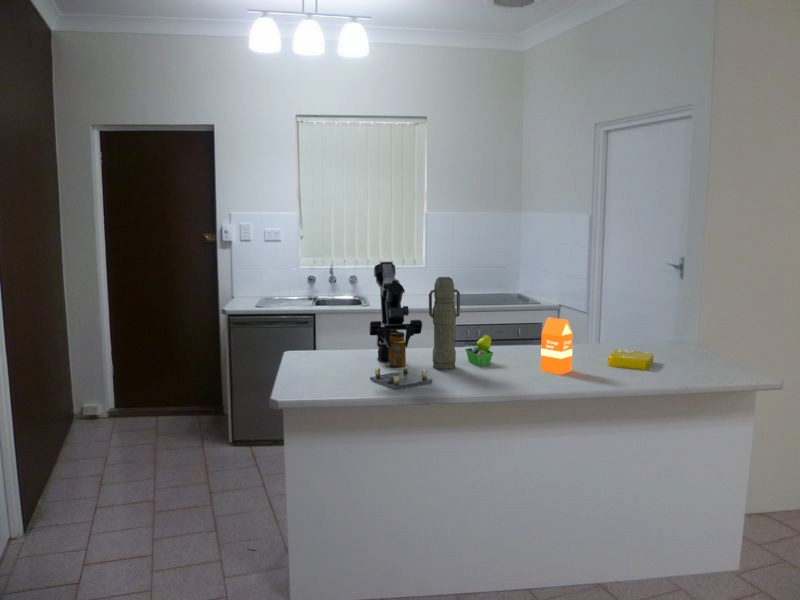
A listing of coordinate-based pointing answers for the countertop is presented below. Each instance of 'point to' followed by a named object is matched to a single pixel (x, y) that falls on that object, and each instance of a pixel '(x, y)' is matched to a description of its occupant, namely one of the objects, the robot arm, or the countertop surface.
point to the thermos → (444, 322)
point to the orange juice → (556, 346)
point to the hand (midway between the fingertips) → (397, 347)
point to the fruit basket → (480, 352)
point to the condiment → (397, 351)
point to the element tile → (630, 359)
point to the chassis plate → (401, 379)
